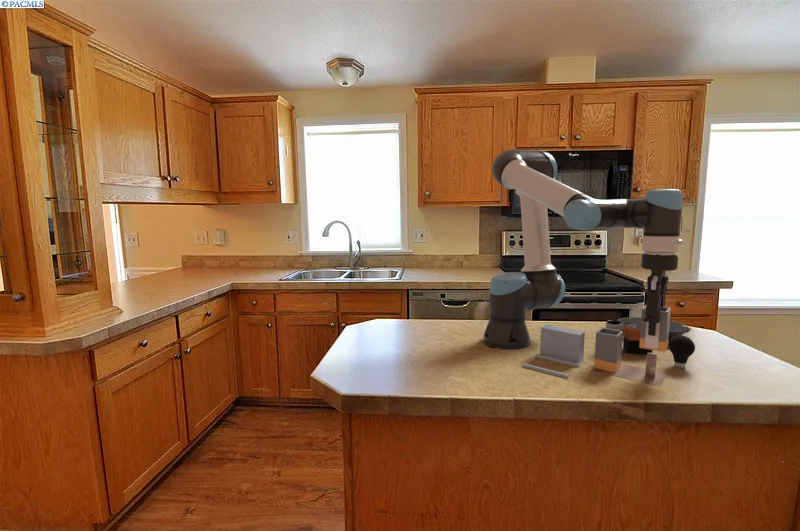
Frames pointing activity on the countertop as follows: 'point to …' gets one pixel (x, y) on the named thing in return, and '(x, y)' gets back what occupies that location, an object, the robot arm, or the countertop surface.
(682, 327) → the board
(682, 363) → the light bulb
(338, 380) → the countertop surface
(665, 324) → the sleeve
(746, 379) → the countertop surface
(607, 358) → the seated sleeve
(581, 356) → the feeder
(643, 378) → the pinboard
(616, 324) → the planter
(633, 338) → the battery
